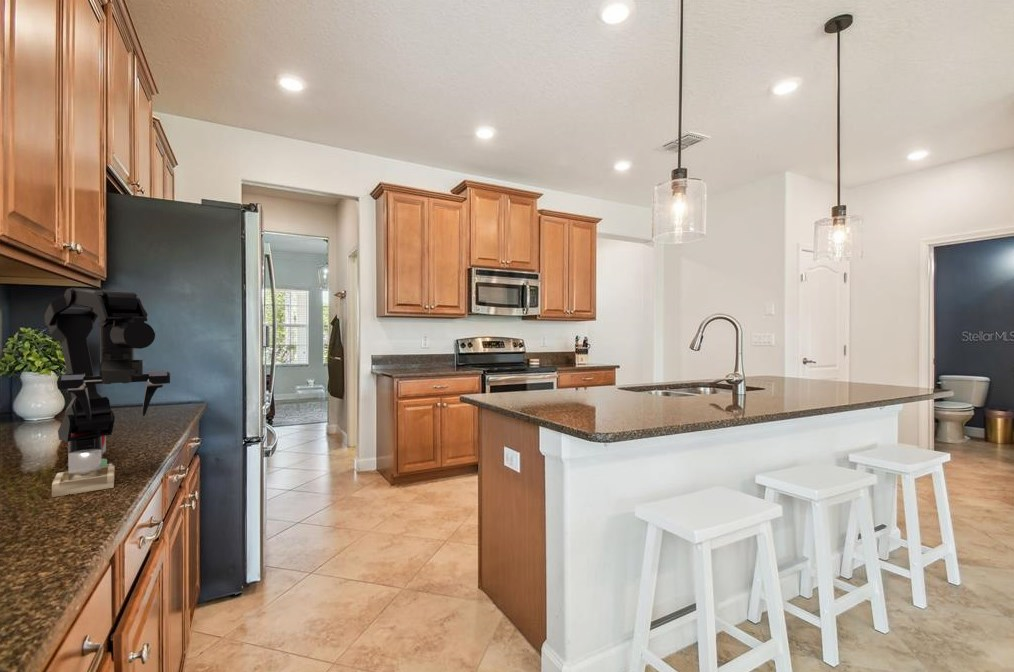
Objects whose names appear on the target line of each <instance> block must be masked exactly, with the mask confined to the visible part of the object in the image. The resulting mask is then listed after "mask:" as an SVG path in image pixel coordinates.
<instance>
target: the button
mask: <svg viewBox="0 0 1014 672" xmlns="http://www.w3.org/2000/svg"><path fill="white" fill-rule="evenodd" d="M107 464H108V459H107V458H104V459H101V467H104V466H107Z"/></svg>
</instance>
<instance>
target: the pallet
mask: <svg viewBox="0 0 1014 672" xmlns="http://www.w3.org/2000/svg"><path fill="white" fill-rule="evenodd" d="M114 486H115V464H114V465H113V464H112V465H111V466H104V467H101V476H97V477H90V478H83V479H76V480H69V481H68V470H67V471H62V472H61V471H60V472H57V473H56V475H55V477H54V479H53V481H52V483H51V498H55V497H62V496H67V495H69V494H70V495H73V494H75V495H76V494H80V493H86V492H93V491H101V490H106V489H107V490H108V489H112V488H113V489H114ZM70 495H69V496H70Z"/></svg>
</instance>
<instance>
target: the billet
mask: <svg viewBox="0 0 1014 672" xmlns="http://www.w3.org/2000/svg"><path fill="white" fill-rule="evenodd" d="M67 457H68V460H67V463H68V470H67V471H68V481H69V480H76V479H83V478H90V477H97V476H101V449H87V450H80V451H75V452H71V453H69V454H68V453H67Z"/></svg>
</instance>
